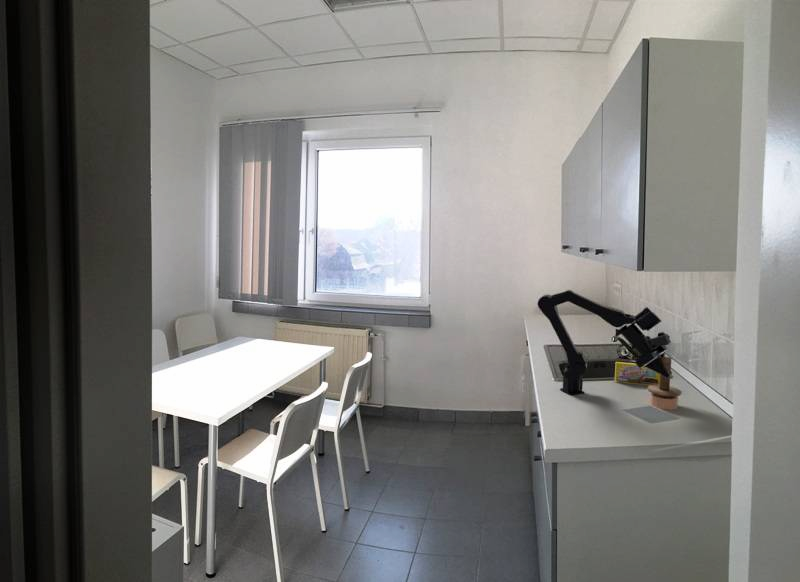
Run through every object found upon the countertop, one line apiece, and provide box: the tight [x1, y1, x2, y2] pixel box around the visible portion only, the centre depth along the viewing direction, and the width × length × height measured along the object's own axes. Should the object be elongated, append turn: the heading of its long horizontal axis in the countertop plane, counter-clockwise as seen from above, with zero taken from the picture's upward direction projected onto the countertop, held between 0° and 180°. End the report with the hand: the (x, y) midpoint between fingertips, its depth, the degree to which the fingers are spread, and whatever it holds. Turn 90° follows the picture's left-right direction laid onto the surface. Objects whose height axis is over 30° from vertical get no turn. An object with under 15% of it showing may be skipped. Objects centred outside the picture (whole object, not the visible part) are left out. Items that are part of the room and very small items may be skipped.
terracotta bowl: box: [649, 392, 679, 411], centre depth 160 cm, size 8×8×4 cm
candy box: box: [614, 361, 660, 386], centre depth 185 cm, size 16×2×8 cm, turn 71°
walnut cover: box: [647, 356, 682, 397], centre depth 159 cm, size 10×10×12 cm
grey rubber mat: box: [622, 405, 681, 424], centre depth 152 cm, size 12×12×1 cm
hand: (669, 375), depth 158 cm, fingers closed on walnut cover, 3 cm apart
